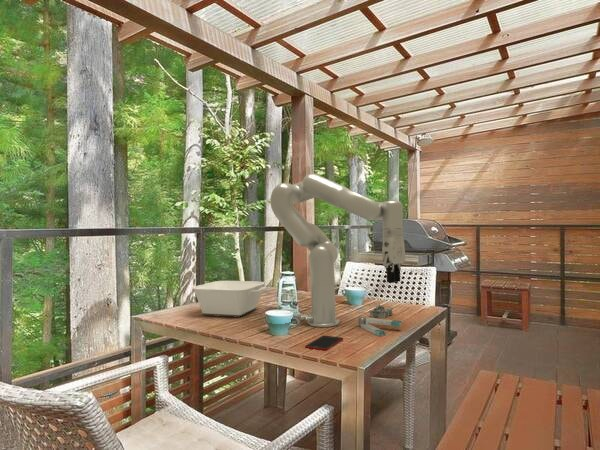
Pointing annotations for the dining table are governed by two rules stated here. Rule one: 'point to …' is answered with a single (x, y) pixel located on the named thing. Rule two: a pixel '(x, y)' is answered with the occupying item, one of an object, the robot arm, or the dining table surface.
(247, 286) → the tub
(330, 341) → the cell phone
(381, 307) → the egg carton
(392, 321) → the tongs upper arm
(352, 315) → the dining table surface
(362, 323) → the tongs lower
